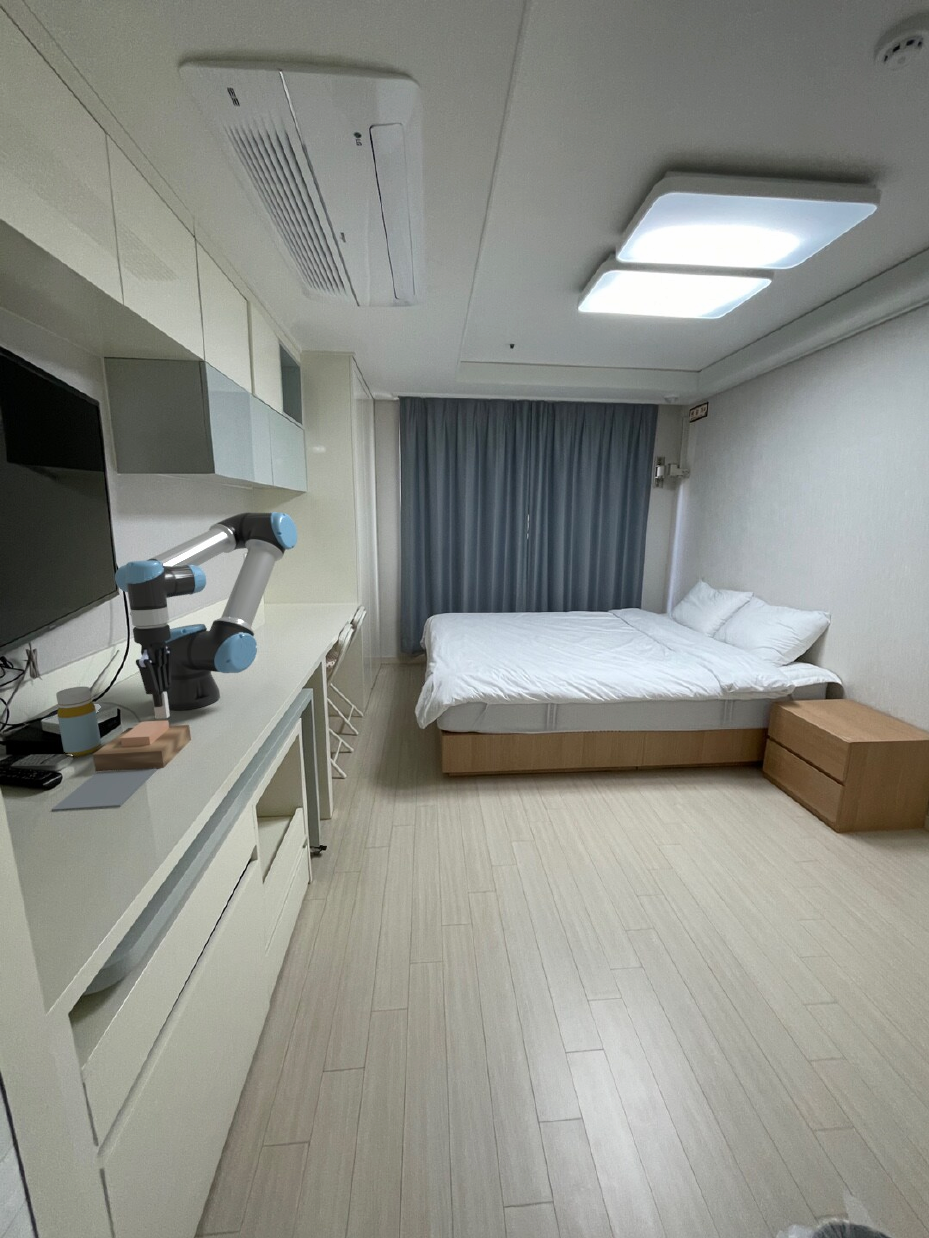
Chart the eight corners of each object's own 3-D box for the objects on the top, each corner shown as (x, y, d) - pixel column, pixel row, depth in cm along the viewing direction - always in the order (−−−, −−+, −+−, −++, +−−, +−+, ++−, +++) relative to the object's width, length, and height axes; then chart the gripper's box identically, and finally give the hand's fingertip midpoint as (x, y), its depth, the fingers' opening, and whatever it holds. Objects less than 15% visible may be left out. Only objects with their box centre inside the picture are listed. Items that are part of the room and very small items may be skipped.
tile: (142, 729, 118) (141, 721, 117) (169, 728, 118) (168, 720, 118) (121, 746, 109) (120, 737, 108) (150, 744, 110) (149, 736, 109)
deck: (130, 742, 119) (128, 727, 119) (191, 739, 121) (189, 724, 120) (95, 771, 106) (92, 754, 105) (163, 767, 107) (161, 750, 107)
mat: (97, 773, 105) (97, 771, 105) (156, 770, 106) (156, 768, 106) (51, 811, 91) (51, 809, 91) (120, 806, 93) (120, 804, 93)
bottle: (105, 742, 120) (96, 684, 117) (96, 754, 113) (86, 693, 110) (71, 746, 117) (60, 687, 114) (59, 759, 111) (48, 697, 108)
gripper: (148, 620, 123) (159, 708, 127) (118, 631, 110) (132, 728, 115) (179, 619, 124) (189, 707, 128) (153, 630, 111) (165, 727, 115)
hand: (162, 717), depth 121 cm, fingers closed
